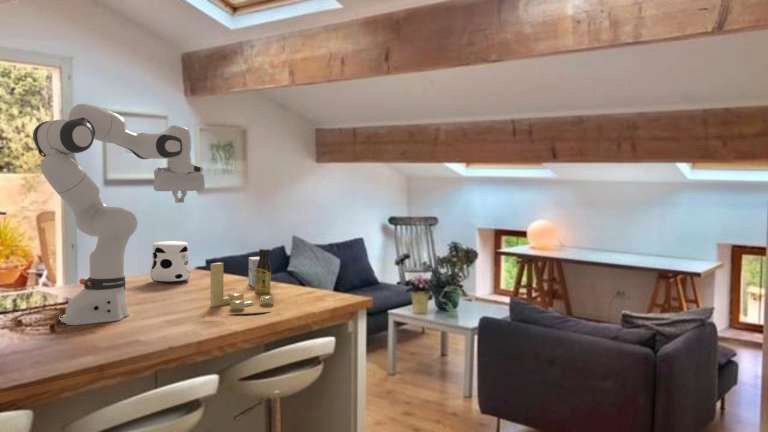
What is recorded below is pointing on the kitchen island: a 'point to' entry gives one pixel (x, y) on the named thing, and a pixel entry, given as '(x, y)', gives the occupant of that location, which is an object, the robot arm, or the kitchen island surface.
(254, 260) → the supplement box
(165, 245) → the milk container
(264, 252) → the sauce bottle
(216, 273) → the lever knob
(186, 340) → the kitchen island surface
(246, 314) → the levelling plate
